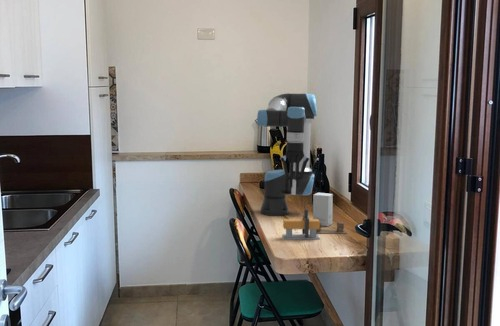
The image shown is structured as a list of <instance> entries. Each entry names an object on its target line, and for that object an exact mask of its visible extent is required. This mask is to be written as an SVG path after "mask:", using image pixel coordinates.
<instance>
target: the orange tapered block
mask: <svg viewBox="0 0 500 326" xmlns="http://www.w3.org/2000/svg"><path fill="white" fill-rule="evenodd" d="M282 227H283V229H284V230H286V229H292V230H302V229H305V220H304V219H303V218H300V219H299V218H296V219H294V218H288V219H287V218H283V221H282ZM310 229H320V221H319V220H318V219H313V218H309V230H310Z"/></svg>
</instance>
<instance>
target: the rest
mask: <svg viewBox="0 0 500 326" xmlns="http://www.w3.org/2000/svg"><path fill="white" fill-rule="evenodd" d="M344 227H345V223H344V222H343V221H337V223H336V228H335V229H334V228H332V229H330V228H325V229H324V228H322V227H321V223H320V229H316V234H317V235H318V234H319V235H320V234H322V235H323V234H324V235H325V234H327V235H329V234H332V235H333V234H334V235H336V234H338V235H339V234H341V235H342V234H343V235H344V234H346V235H347V234H348V232H347V231H346V230H345V229H344Z"/></svg>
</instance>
